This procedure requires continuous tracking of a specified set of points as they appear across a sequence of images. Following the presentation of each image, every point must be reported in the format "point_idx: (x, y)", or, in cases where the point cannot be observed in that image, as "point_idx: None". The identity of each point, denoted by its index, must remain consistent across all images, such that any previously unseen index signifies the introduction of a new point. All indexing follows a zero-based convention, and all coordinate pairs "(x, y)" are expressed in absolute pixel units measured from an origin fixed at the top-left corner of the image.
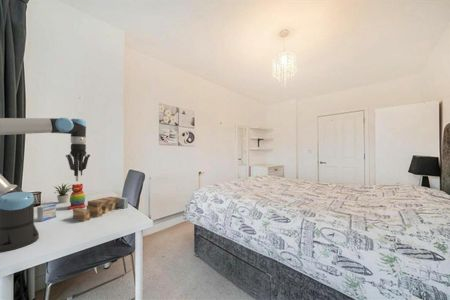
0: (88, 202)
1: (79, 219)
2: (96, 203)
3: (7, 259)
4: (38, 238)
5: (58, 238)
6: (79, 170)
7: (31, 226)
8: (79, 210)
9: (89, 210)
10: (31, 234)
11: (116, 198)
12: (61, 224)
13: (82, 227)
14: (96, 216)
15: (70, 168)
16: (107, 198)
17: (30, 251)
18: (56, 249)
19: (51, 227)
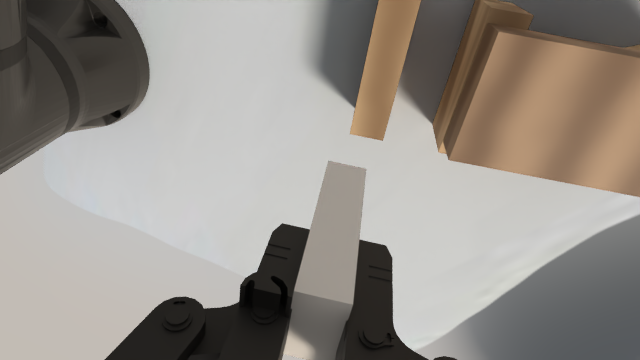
0: (490, 43)
1: (365, 60)
2: (449, 153)
3: (49, 158)
4: (142, 100)
5: (186, 169)
6: (340, 338)
7: (75, 128)
8: (363, 77)
9: (382, 140)
10: (94, 127)
11: (627, 189)
12: (281, 18)
13: (291, 167)
14: (436, 114)
15: (138, 332)
16: (631, 117)
17: (100, 172)
18: (148, 230)
19: (233, 8)
